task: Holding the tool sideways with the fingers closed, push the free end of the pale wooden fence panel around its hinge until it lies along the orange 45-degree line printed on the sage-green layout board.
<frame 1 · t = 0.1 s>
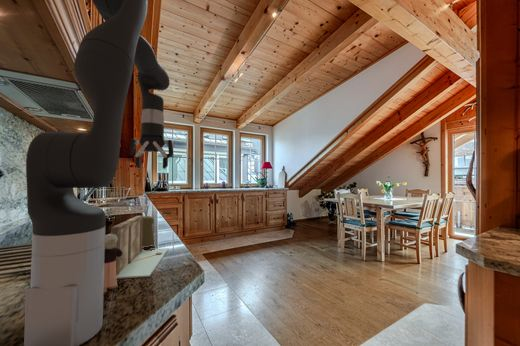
hand: (151, 168, 82), 29 cm above the counter, tool pointing down, fingers open, 8 cm apart
grandmother figurine: (108, 289, 53), on the counter
olive grey cylinder: (145, 246, 86), on the counter
layout board: (140, 261, 69), on the counter
fence panel: (133, 237, 72), point 7 cm above the counter, hinge at 0.0°
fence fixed: (119, 271, 62), resting on layout board
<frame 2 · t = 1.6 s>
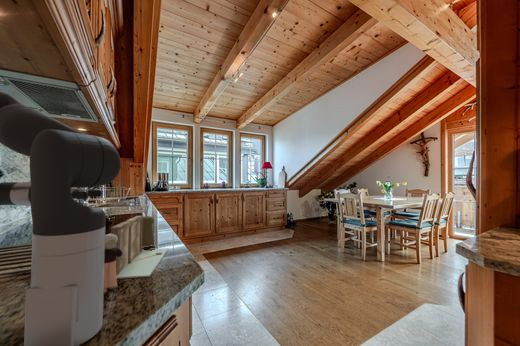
hand: (94, 194, 73), 20 cm above the counter, tool horizontal, fingers open, 7 cm apart
nothing on the counter moved.
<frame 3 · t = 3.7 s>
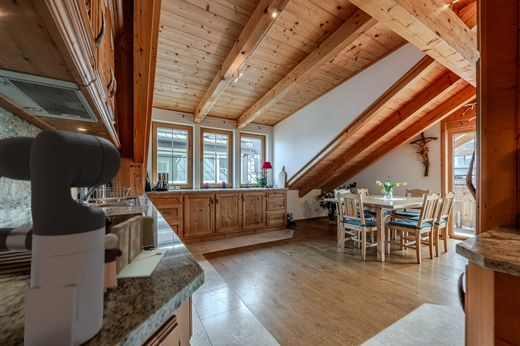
hand: (95, 236, 73), 7 cm above the counter, tool horizontal, fingers closed
nothing on the counter moved.
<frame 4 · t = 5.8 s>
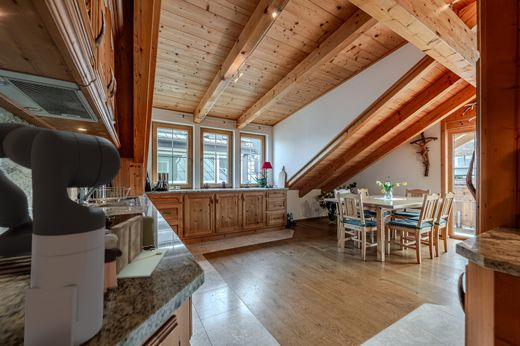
hand: (134, 235, 75), 6 cm above the counter, tool horizontal, fingers closed
fence panel: (133, 237, 72), point 7 cm above the counter, hinge at -0.4°, touching gripper
everything else where it was.
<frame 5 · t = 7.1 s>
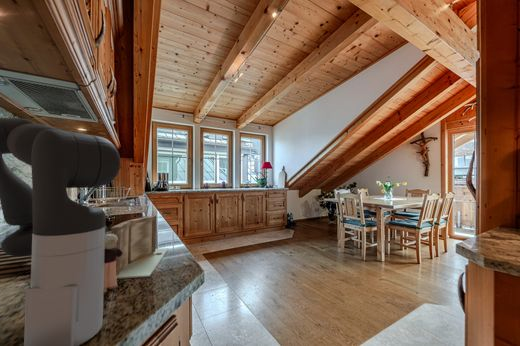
hand: (146, 235, 75), 6 cm above the counter, tool horizontal, fingers closed
fence panel: (140, 237, 72), point 7 cm above the counter, hinge at -29.2°, touching gripper
everything else where it was.
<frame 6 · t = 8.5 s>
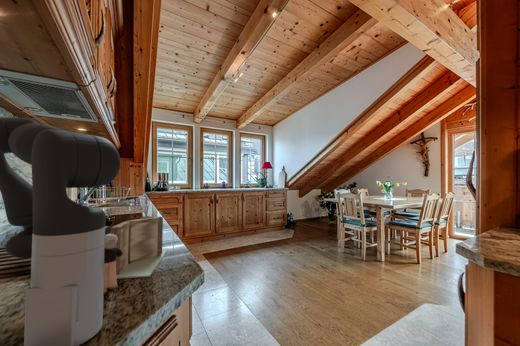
hand: (150, 236, 74), 6 cm above the counter, tool horizontal, fingers closed
fence panel: (144, 238, 71), point 7 cm above the counter, hinge at -52.3°
everything else where it was.
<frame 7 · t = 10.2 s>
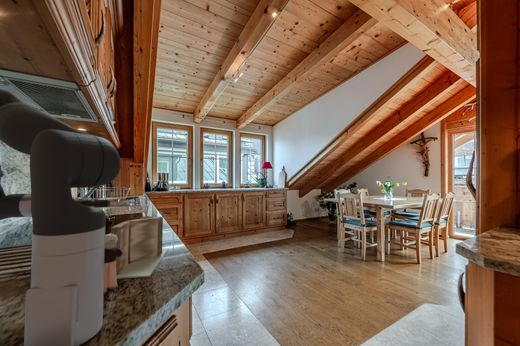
hand: (109, 203, 71), 18 cm above the counter, tool horizontal, fingers closed
nothing on the counter moved.
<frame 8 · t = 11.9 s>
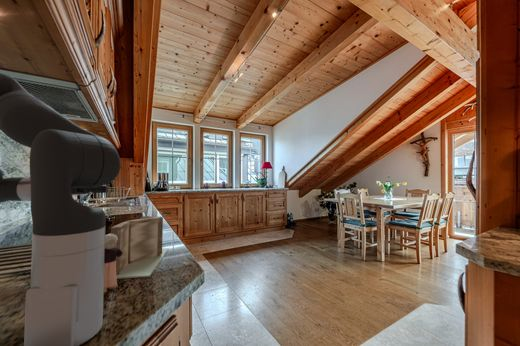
hand: (107, 189, 72), 22 cm above the counter, tool horizontal, fingers closed
nothing on the counter moved.
at the end: fence panel at -52° (first picture: +0°); olive grey cylinder moved 0.2 cm from its start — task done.
